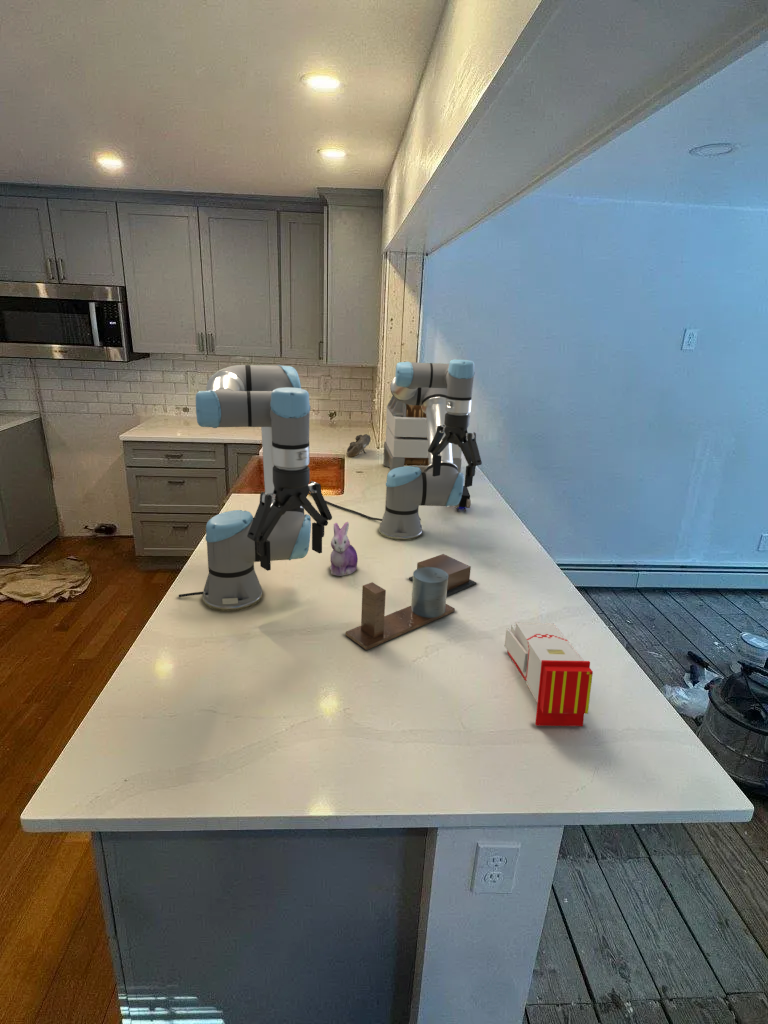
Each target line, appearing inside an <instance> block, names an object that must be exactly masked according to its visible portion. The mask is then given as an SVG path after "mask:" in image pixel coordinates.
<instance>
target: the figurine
mask: <svg viewBox="0 0 768 1024" xmlns="http://www.w3.org/2000/svg"><path fill="white" fill-rule="evenodd" d="M349 526H350V523H349V521H346V522H345V523H343V525H342V527H341V528H340V526H339V524H338V522H334V523H333V537H332V538H331V541H330V547H331V549H332V551H331V553H330V557H329V559H330V568H329V570H330V574H331V575H333V576H337V577H340V576H341V577H344V576H346V575H351V574H353V573H354V572H356V571H357V567H358V562H359V561H358V553H357V551H356V549H355V547H354V546H353V545H352V544H351V541H350V539H349V537H348V531H349Z"/></svg>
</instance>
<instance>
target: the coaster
mask: <svg viewBox="0 0 768 1024" xmlns="http://www.w3.org/2000/svg"><path fill="white" fill-rule="evenodd" d="M408 580H409V581H411V582H413V575H412V576H410V577H408ZM476 585H477V582H476V581H474V580H472V579H470V580H469V582H468V583H465V584H463V585H461V586H458V587H456V588H453V589H451V590H448V591H447V596H446V598H447V597H449V596H453V595H454V594H456V593H459V592H461V591H463V590H466V589H468V588H471V587H473V586H476Z"/></svg>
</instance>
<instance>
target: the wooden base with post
mask: <svg viewBox="0 0 768 1024" xmlns="http://www.w3.org/2000/svg"><path fill="white" fill-rule="evenodd" d="M412 576H413V581H412V586H411V598H410V599H411V601H410V605H408V606H406V607H404V608H402V609H399V610H396V611H393V612H391V613H389V614H387V615H386V614H385V613H386V611H385V610H386V593H387V590H386V589H385V588H383V587H381V586H379V585H378V584H376V583H374V582H373V581H372V582H369V583H366V584H362V586H361V587H362V589H361V591H362V592H361V618H360V619H361V620H360V626H357V627H354V628H352V629H349V630H347V631H345V636H346V637H347V638H349V639H350V640H351V641H352V642H354V643H355V644H357V645H358V646H359V647H361V648H362V649H364V650H365V651H368V650H371V649H372V648H374V647H377V646H379V645H382V644H383V643H386V642H388V641H390V640H393V639H395V638H398V637H400V636H402V635H404V634H406V633H410V632H411V631H413V630H416V629H418V628H421V627H423V626H425V625H427V624H430V623H432V622H434V621H437V620H439V619H441V618H443V617H446V616H447V615H451V614H453V613H454V612H455V607H453V606H452V605H449V604H448V603H447V597H448V596H447V585H448V574H447V573H446V572H445V571H443V570H441V569H438V568H433V567H423V568H419V569H417V568H416V569H415V570H413V573H412ZM446 596H447V597H446Z"/></svg>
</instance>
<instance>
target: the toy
mask: <svg viewBox="0 0 768 1024" xmlns="http://www.w3.org/2000/svg"><path fill="white" fill-rule="evenodd" d="M503 645H504V647H505V649H506V650H507V655H508V656H509V658H510V659H511V662H513V664H514V666H515V667H516V669H517V670H518V672H519V673H520V675H521V676H522V679H523V680H524V681H525V683H526V686H527V687H528V689H529V690H530V693H531V694H532V696H533V698H534V700H535V701H536V703H537V704H536V714H535V722H534V723H535V726H537V727H541V726H542V727H583V726H584V719H585V715H586V714H587V715H588V714H589V706H590V705H589V704H590V699H591V691H592V683H593V682H592V681H593V674H594V673H593V672H594V671H593V670H592V669H591V668H590V667H591V661H590V660H584V659H583V658H582V657H581V655H580V654H579V653H578V651H577V650H576V649H575V648H574V647H573V645H572V644H571V643H570V642H569V640H568V639H567V638H566V636H564V633H562V632H561V630H560V629H559V628H558V627H557V625H556V624H555V623H553V622H515V624H511V625H510V628H506V630H505V638H504V644H503Z"/></svg>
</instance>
